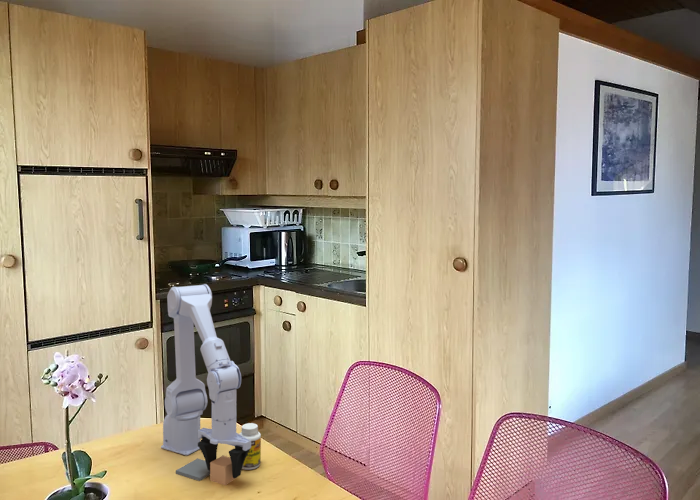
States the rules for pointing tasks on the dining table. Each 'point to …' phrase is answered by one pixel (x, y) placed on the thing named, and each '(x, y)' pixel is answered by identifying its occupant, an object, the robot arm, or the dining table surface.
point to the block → (221, 470)
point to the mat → (194, 470)
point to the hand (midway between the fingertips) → (224, 472)
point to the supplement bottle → (252, 446)
